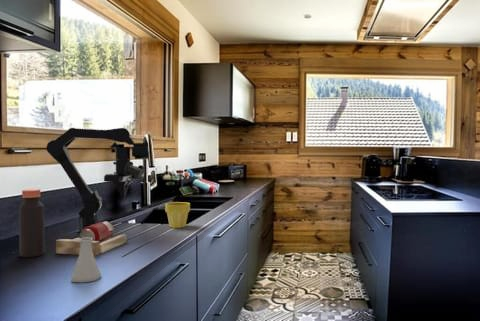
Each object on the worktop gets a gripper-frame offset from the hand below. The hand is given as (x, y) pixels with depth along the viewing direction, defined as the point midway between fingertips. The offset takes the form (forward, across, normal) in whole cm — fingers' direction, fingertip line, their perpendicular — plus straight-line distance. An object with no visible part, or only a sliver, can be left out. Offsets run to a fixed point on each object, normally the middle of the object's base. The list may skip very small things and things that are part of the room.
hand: (123, 197), depth 154 cm
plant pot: (+13, +11, -19) cm, 26 cm away
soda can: (+10, -17, -3) cm, 20 cm away
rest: (+13, -28, -5) cm, 31 cm away
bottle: (+13, -40, +8) cm, 43 cm away
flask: (+13, -56, -22) cm, 62 cm away
